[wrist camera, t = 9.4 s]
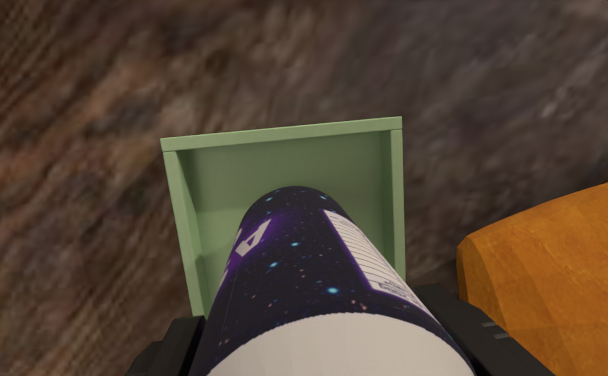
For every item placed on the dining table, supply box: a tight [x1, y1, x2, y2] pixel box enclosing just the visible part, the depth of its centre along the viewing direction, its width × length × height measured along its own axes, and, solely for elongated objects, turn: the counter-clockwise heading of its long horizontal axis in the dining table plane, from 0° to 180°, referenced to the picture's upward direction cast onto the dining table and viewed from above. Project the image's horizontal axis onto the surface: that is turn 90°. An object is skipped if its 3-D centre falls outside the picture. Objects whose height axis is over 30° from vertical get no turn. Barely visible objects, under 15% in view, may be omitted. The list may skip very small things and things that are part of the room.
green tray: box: [160, 116, 406, 322], centre depth 16 cm, size 11×11×2 cm
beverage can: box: [188, 186, 477, 376], centre depth 10 cm, size 6×6×12 cm
